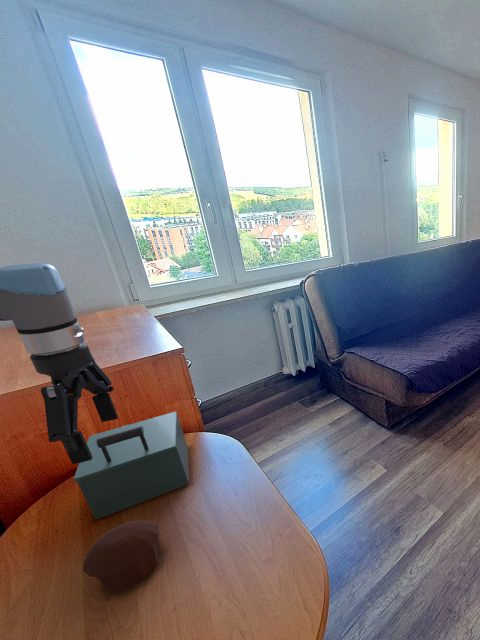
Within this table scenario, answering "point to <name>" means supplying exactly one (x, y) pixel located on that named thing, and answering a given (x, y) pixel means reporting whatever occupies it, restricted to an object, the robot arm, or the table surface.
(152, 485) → the chest
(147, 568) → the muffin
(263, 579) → the table surface
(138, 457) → the lid
